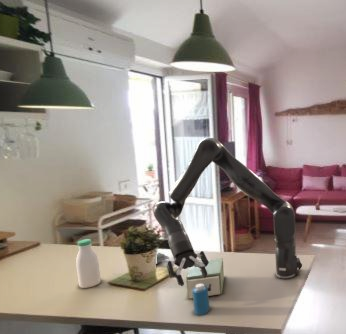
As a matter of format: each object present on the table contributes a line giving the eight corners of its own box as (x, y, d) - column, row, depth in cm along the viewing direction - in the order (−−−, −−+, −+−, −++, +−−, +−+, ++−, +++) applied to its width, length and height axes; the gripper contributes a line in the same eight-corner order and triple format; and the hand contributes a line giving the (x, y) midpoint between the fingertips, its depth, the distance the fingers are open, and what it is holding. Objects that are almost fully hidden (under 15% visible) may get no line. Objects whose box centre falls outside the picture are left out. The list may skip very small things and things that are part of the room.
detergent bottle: (210, 306, 129) (207, 280, 127) (208, 313, 124) (206, 287, 122) (195, 308, 128) (193, 282, 126) (193, 316, 123) (191, 289, 121)
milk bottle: (103, 283, 147) (97, 240, 144) (81, 290, 142) (74, 245, 138) (98, 277, 152) (93, 236, 149) (77, 284, 147) (71, 241, 143)
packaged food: (156, 256, 174) (155, 247, 173) (170, 261, 168) (169, 252, 167) (139, 263, 167) (138, 253, 166) (153, 268, 161) (151, 259, 160)
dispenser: (221, 293, 138) (220, 272, 136) (188, 298, 134) (186, 277, 133) (224, 277, 152) (222, 257, 150) (193, 281, 148) (191, 261, 147)
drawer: (219, 299, 132) (217, 282, 130) (187, 304, 129) (185, 286, 127) (222, 278, 149) (220, 262, 147) (194, 282, 146) (192, 266, 144)
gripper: (162, 245, 126) (176, 283, 120) (200, 235, 136) (214, 270, 130) (159, 254, 131) (172, 292, 125) (195, 244, 141) (209, 278, 135)
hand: (194, 281), depth 128 cm, fingers open, 8 cm apart
